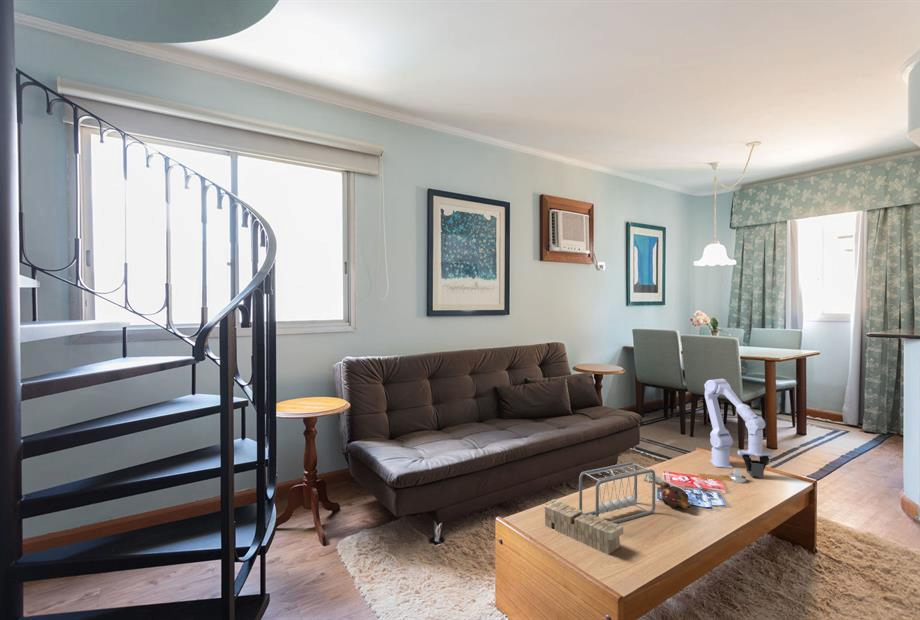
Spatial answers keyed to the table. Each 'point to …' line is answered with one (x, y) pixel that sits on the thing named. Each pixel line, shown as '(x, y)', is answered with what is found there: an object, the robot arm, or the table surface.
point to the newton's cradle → (624, 501)
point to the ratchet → (735, 476)
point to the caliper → (658, 480)
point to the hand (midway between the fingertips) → (755, 470)
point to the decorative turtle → (674, 496)
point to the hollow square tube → (756, 468)
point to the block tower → (583, 526)
